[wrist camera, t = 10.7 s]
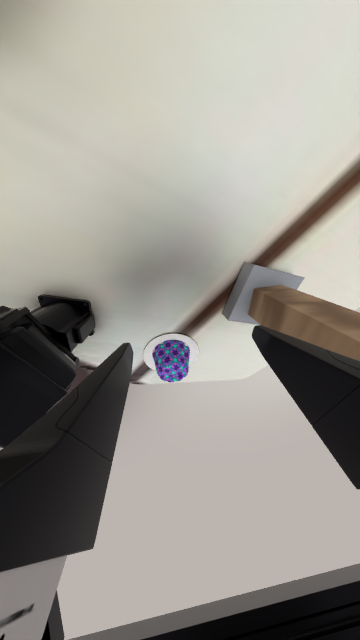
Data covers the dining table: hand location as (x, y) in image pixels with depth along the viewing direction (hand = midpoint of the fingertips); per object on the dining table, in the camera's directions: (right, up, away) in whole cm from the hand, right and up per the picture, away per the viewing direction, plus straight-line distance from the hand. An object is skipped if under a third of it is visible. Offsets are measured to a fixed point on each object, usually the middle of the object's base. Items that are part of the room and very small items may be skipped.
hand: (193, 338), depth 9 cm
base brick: (+12, +6, +14) cm, 19 cm away
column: (+13, +4, +11) cm, 18 cm away
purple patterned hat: (-3, -6, +19) cm, 20 cm away
